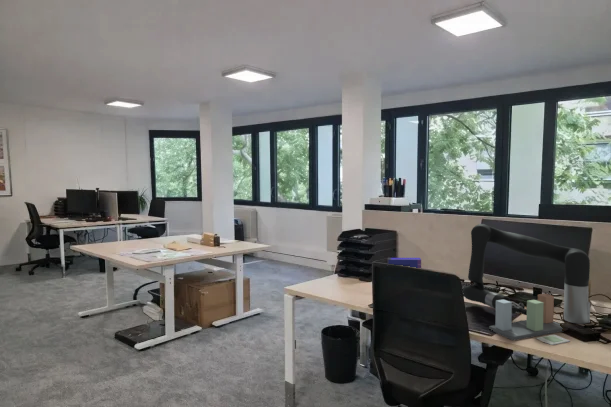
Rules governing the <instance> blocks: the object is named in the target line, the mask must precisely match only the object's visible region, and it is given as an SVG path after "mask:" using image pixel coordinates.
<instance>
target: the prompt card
mask: <svg viewBox="0 0 611 407" xmlns="http://www.w3.org/2000/svg"><path fill="white" fill-rule="evenodd" d="M536 340H538V341H541V342H544V343H546V344H547V345H550V346H556V345H560V344H565V343H569V342H571V341H570V339H566V338H564V337H562V336H560V335H557V334H555V333H553V334H548V335H544V336H543V335H542V336H537V337H536Z"/></svg>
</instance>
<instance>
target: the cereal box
mask: <svg viewBox="0 0 611 407" xmlns="http://www.w3.org/2000/svg"><path fill="white" fill-rule="evenodd" d="M388 264H394V265H403V266H410V267H416V268H421V269H422V258H421V257H387V265H388Z"/></svg>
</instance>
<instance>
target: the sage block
mask: <svg viewBox="0 0 611 407" xmlns="http://www.w3.org/2000/svg"><path fill="white" fill-rule="evenodd" d="M543 305H544V303H543V302H540V301H538V299H531V300H530V299H529V300H527V301H526V309H527V315H526V320H527V328H528V329H531V330H533V331H540V330H543Z"/></svg>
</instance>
